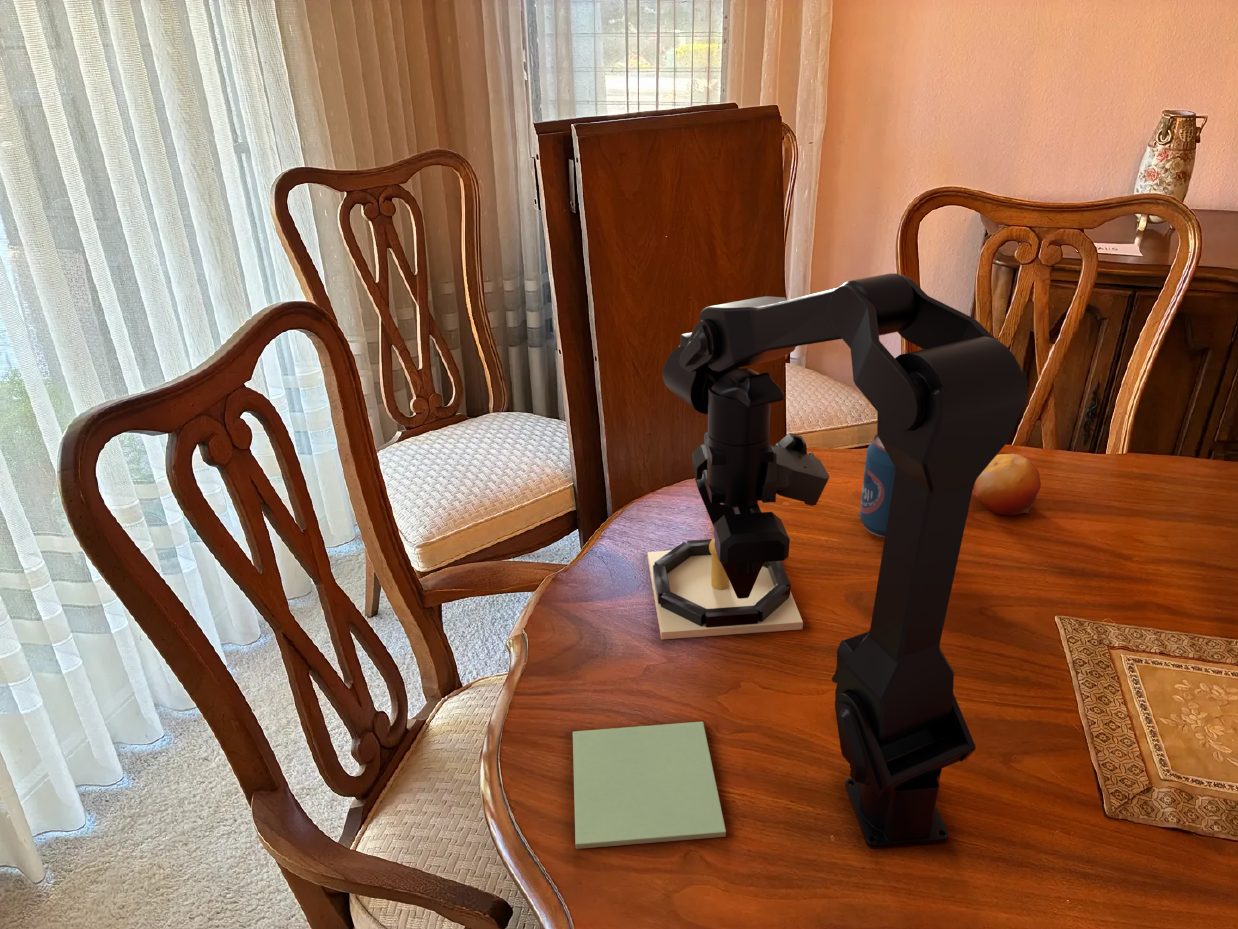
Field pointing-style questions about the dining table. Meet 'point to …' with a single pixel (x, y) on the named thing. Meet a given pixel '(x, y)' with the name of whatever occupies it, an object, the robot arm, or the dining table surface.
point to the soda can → (877, 488)
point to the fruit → (1008, 485)
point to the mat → (644, 786)
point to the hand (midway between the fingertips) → (734, 570)
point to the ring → (716, 615)
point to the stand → (716, 598)
